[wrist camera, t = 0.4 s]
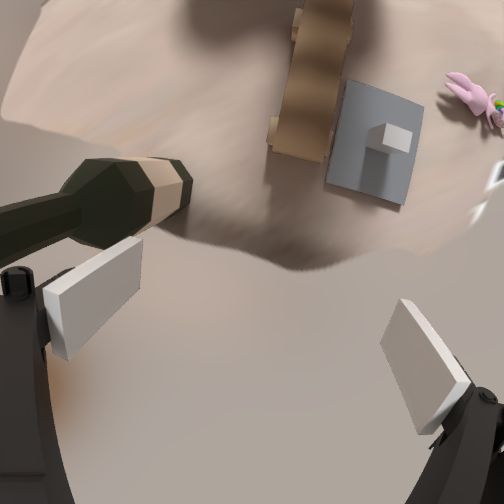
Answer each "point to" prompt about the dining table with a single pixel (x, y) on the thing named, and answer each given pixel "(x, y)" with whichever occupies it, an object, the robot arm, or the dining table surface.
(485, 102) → the rabbit figure
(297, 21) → the board
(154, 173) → the wine bottle
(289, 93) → the walnut beam
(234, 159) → the dining table surface
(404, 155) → the fulcrum
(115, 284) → the robot arm
